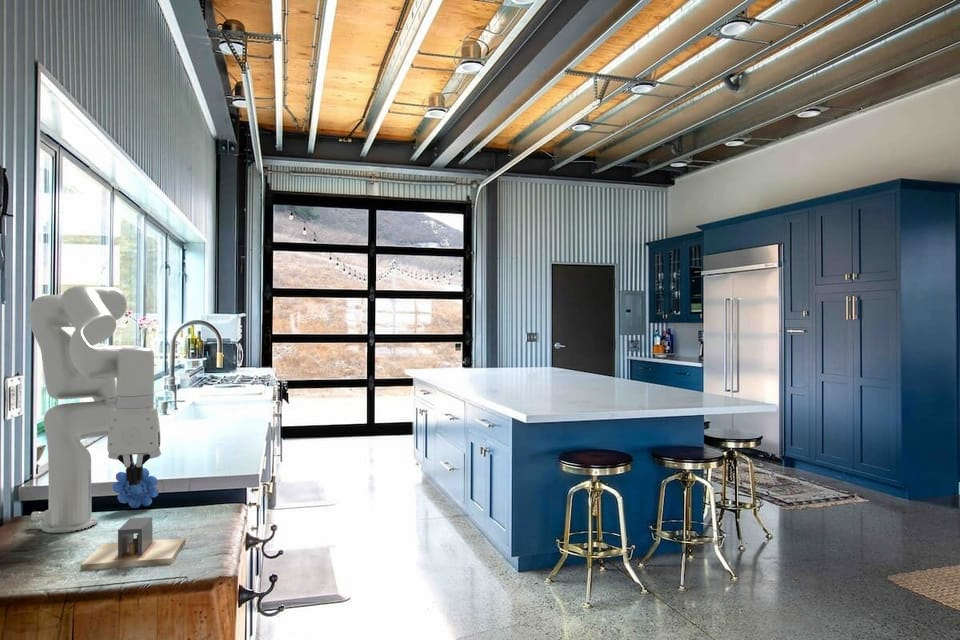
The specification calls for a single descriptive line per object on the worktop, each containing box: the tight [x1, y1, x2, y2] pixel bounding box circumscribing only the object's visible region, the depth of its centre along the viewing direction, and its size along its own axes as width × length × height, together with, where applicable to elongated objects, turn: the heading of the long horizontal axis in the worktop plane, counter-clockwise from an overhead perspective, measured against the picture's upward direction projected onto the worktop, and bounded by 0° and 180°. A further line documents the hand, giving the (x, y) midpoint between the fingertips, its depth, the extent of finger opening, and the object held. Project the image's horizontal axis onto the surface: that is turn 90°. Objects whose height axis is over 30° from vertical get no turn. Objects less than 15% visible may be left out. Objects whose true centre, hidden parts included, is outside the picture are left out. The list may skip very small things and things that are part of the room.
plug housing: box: [117, 516, 153, 558], centre depth 154 cm, size 5×9×6 cm, turn 12°
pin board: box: [80, 534, 186, 571], centre depth 154 cm, size 18×14×4 cm
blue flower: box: [112, 467, 160, 509], centre depth 193 cm, size 12×7×12 cm, turn 119°
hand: (134, 483), depth 154 cm, fingers closed
